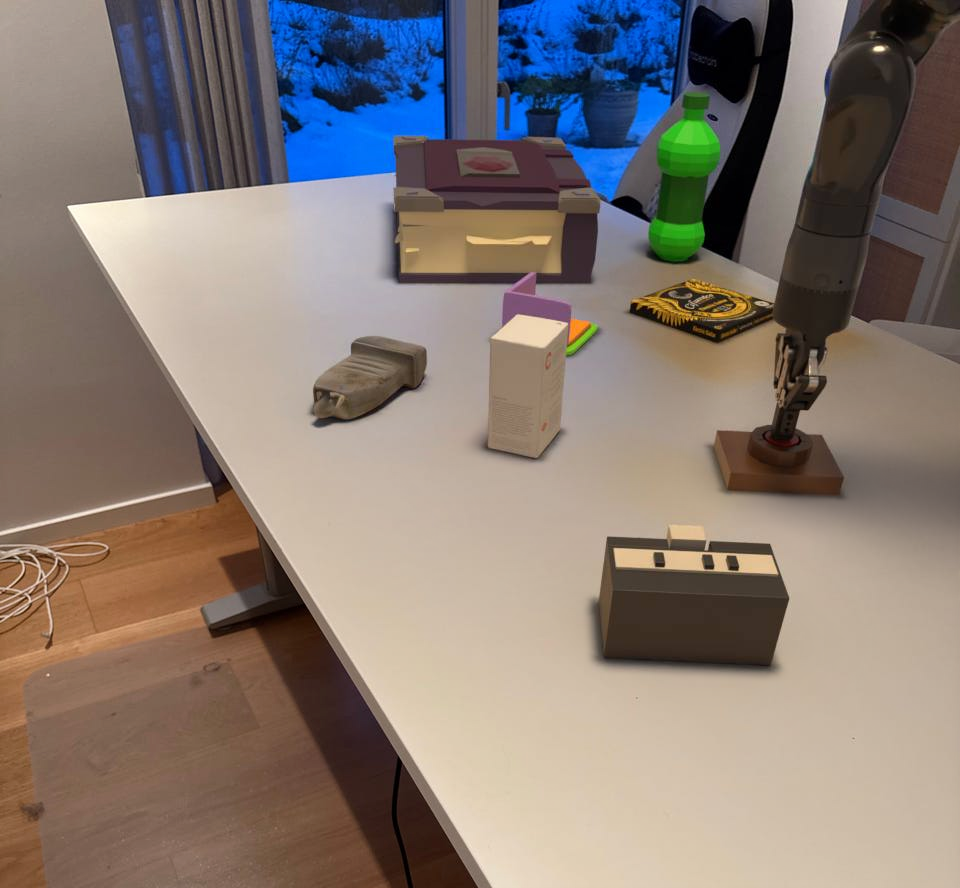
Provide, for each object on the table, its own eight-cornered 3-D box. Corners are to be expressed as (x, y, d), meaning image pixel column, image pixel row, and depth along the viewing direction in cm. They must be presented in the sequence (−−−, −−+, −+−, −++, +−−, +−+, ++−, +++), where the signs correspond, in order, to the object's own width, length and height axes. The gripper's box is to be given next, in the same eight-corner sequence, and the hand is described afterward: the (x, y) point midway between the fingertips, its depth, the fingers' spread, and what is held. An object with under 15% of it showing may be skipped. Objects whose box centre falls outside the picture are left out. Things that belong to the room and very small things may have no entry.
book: (562, 209, 189) (568, 130, 181) (602, 285, 154) (611, 192, 146) (394, 208, 187) (392, 128, 178) (395, 285, 152) (393, 190, 143)
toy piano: (753, 608, 86) (772, 535, 81) (770, 665, 80) (792, 590, 75) (598, 601, 86) (607, 528, 82) (603, 657, 80) (614, 582, 75)
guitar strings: (719, 330, 135) (630, 300, 144) (717, 342, 136) (629, 312, 145) (780, 305, 144) (693, 278, 153) (777, 316, 145) (691, 289, 154)
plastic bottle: (644, 264, 164) (666, 98, 148) (643, 246, 172) (663, 87, 156) (703, 268, 163) (731, 102, 147) (699, 249, 171) (725, 90, 155)
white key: (698, 548, 85) (703, 525, 83) (702, 563, 83) (706, 539, 82) (664, 547, 85) (668, 524, 83) (667, 561, 83) (671, 538, 82)
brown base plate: (817, 452, 110) (826, 420, 108) (838, 495, 103) (848, 462, 100) (713, 447, 111) (719, 415, 108) (727, 490, 103) (734, 457, 100)
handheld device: (284, 418, 114) (280, 380, 111) (372, 361, 128) (370, 327, 125) (353, 436, 111) (350, 398, 108) (435, 375, 125) (435, 341, 122)
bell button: (791, 444, 107) (795, 430, 106) (798, 459, 104) (802, 445, 103) (759, 443, 107) (762, 428, 106) (765, 458, 104) (768, 443, 103)
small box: (511, 420, 115) (516, 312, 107) (561, 430, 113) (570, 321, 105) (485, 448, 109) (488, 336, 101) (537, 460, 107) (545, 347, 99)
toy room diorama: (491, 341, 135) (492, 292, 130) (524, 314, 143) (527, 267, 139) (570, 357, 131) (574, 307, 126) (600, 329, 139) (605, 281, 135)
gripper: (878, 300, 88) (830, 467, 99) (842, 256, 98) (802, 412, 109) (796, 296, 88) (757, 464, 99) (769, 253, 99) (736, 409, 109)
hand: (780, 436), depth 104 cm, fingers closed
